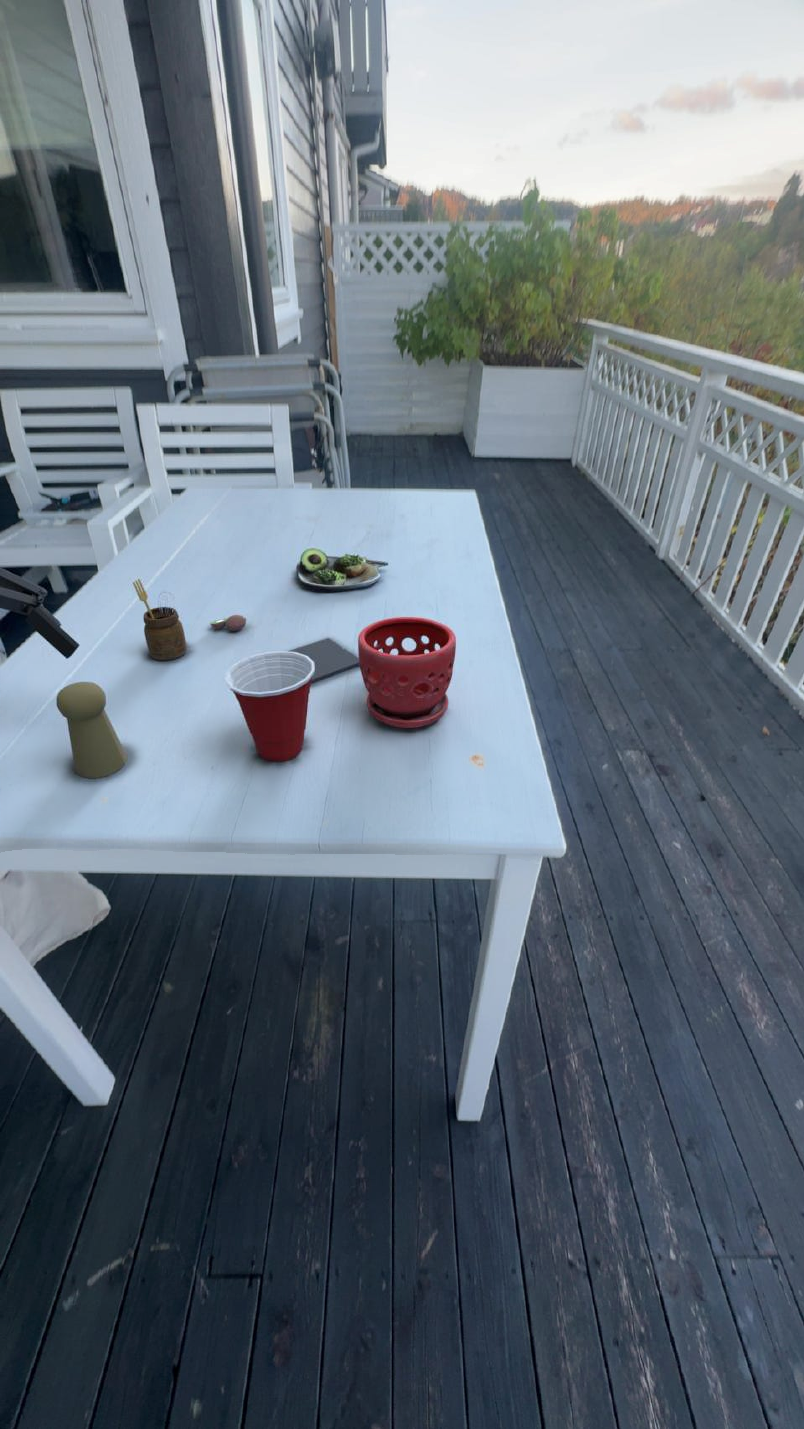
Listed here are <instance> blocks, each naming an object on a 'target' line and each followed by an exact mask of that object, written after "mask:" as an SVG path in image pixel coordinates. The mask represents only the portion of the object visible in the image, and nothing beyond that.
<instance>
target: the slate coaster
mask: <svg viewBox="0 0 804 1429" xmlns="http://www.w3.org/2000/svg"><path fill="white" fill-rule="evenodd" d="M287 652H297V653H300V654H303V655H306V656H308V657H309V658H310V659H311V660H312V661H313V662H314V667H315V671H314V675H313V676H312V680H311V684H313V683H316V682H318V681H321V680H324V679H326V678H330V677H332V676H334V675H337V674H340V673H342V672H346V671H348V670H350V669H353V668H356V667H360V664H359V656H356V655H355V654H353V653H351V652H350V651H349V650H347V649H346V648H344V647H343V646H342V645H339V644H338V643H336V642H335V641H334V640H332V639H330V638H329V637H327V638H324V639H321V640H317V641H315V642H312V643H309V644H306V645H302V646H299V647H297V648H295V649H294V648H293V649H291V650H288V651H287Z"/></svg>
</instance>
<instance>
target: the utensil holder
mask: <svg viewBox="0 0 804 1429" xmlns="http://www.w3.org/2000/svg"><path fill="white" fill-rule="evenodd" d="M132 585H133V587H134V590H135V591H136V594H137V596H138V599H139V601H141V602H143V603H144V605H145V607H146V609H147V610H146V611H145V612H144V613H143V623H144V627H143V633H144V638H145V642H146V645H147V650H148V653H149V656H150V657H151V658H153V659H154V660H157V661H171V660H175V659H178V658H180V657H182V656H184V655H185V653H186V652H187V640H186V636H185V630H184V626H183V623H182V622H181V620H180V616H179V613H178V611H177V610H176V609H175V607H172V606H166V604H165V605H164V606H162V604H160V597H161V595H162V594H163V595H162V597H161V599H163V598H164V596H165V595H168V594H169V596H172V598H171V601H174V598H175V596H174V594H173V593H172V592H171V591H169V590H167V591H166V590H164V591H160V594H159V595H158V602H157V603H158V604H157V605H158V607H154V608H150V605H149V603H148V594H147V591H146V590H145V588H144V586H143V583H142V580H141V579H140V578H138V579H136V580H135V581H132ZM168 599H169V598H168V597H166V600H167V602H169V600H168Z"/></svg>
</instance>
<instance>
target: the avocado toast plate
mask: <svg viewBox="0 0 804 1429" xmlns="http://www.w3.org/2000/svg"><path fill="white" fill-rule="evenodd" d="M388 565H389V562H388V561H381V560H373V559H369V558H367V556H361V555H359V554H357V555H356V554H350V553H345V554H344V555H339V556H336V555H335V556H334V555H327V554H326V553H325V552H324V551H323V550H321V549H318V548H307V549H306V550H304V551H303V552H302V554H301V555H300V560H299V561H298V562H297V563H296V566H295V569H296V575H297V578H298V582H299V583H300V584H301V587H303V588H305V589H307V590H308V591H312V592H319V593H321V592H322V593H328V592H329V593H330V592H343V591H349V590H357V589H360V588H366V587H370V586H371V585H373V584H374V583H376V582H377V581H379V580H380V579H381V574H380V573H379V570H378V569H379V568H382V567H387V566H388Z"/></svg>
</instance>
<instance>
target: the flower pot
mask: <svg viewBox="0 0 804 1429" xmlns="http://www.w3.org/2000/svg"><path fill="white" fill-rule="evenodd" d="M423 637H426V638H427V639H428V642H427V643H425V642H424V641H423V640H422V638H423ZM389 638H391V639H392V643H391V644H387V640H388V639H389ZM405 639H411V640H413V641H414V642H415V647H414V649H412V650H407V649H405V648H404V647H403V641H404V640H405ZM375 643H376V644H375ZM436 645H438V646H439V648H438V649H436ZM456 648H457V638H456V635H455V632H454V631H453V630H452V628H450V627H449V626H447V625H445V624H443V623H442V622H439V621H436V620H432V619H429V618H425V617H419V616H418V617H416V616H398V617H397V616H396V617H389V618H385V619H380V620H378V621H375V622H373V623H370V624H369V625H367V626H366V627H364V628H363V629H362V630H361V631H360V633H358V637H357V652H358V653H357V654H358V658H359V664H360V665H359V670H360V673H361V677H362V681H363V684H364V687H365V689H366V692H367V696H366V701H365V702H366V703H365V704H366V708H367V711H369V713H370V714H371V715H372V717H374V718H375V719H376V720H377V721H380V722H381V723H383V724H385V725H388V726H391V727H396V728H404V729H413V728H422V727H424V726H428V725H431V724H432V723H434V722H436V721H437V720H439V719H440V718H441V717H442V716H443V715H444V714H445V713H446V712H447V710H448V707H449V697H448V695H447V691H448V689H449V687H450V685H451V681H452V677H453V673H454V672H453V670H454V666H455V665H454V664H455V661H456V660H455V659H456V652H457V651H456ZM379 650H382V651H379ZM392 650H397V654H391V652H392ZM425 651H428V652H427V653H425Z"/></svg>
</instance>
